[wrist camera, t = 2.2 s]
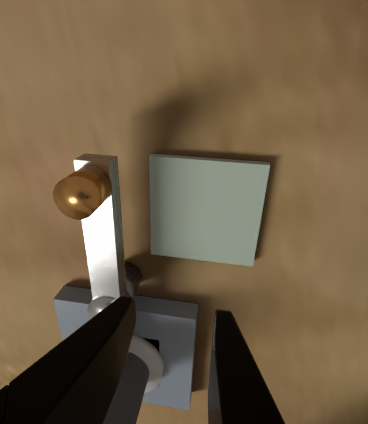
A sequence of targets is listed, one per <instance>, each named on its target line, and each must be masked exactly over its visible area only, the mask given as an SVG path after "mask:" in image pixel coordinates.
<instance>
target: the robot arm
mask: <svg viewBox="0 0 368 424" xmlns="http://www.w3.org/2000/svg"><path fill="white" fill-rule="evenodd" d="M135 324H136V306H135V299H134V298H133V297H128V296H120V297H118V298H117V299H115V300H114V301H113V302H112V303H110V304H109V305H108V306H106V307H105V308H104V309H103V310H101V311H100V312H99V313H98V314H96V315H95V316H94V317H92V318H91V319H90V320H89V321H87V322H86V323H85V324H84V325H82V326H81V327H80V328H78V329H77V330H76V331H75V332H73V333H72V334H71V335H70V336H68V337H67V338H66V339H64V340H63V341H62V342H61V343H59V344H58V345H57V346H55V347H54V348H53V349H52V350H50V351H49V352H48V353H47V354H45V355H44V356H43V357H41V358H40V359H39V360H38V361H36V362H35V363H34V364H33V365H31V366H30V367H29V368H27V369H26V370H25V371H24V372H22V373H21V374H20V375H19V376H17V377H16V378H15V379H13V380H12V381H11V382H10V383H9V385H6V386H4V387H3V388H2V389H0V424H103V422H104V420H105V417H106V415H107V412H108V410H109V407H110V405H111V402H112V399H113V397H114V394H115V392H116V389H117V387H118V384H119V381H120V378H121V375H122V372H123V368H124V365H125V361H126V357H127V354H128V350H129V347H130V343H131V339H132V336H133V332H134V328H135ZM208 424H285V422H284V420H283V418H282V416H281V414H280V412H279V410H278V408H277V406H276V404H275V402H274V399H273V397H272V395H271V393H270V391H269V389H268V387H267V385H266V383H265V381H264V379H263V377H262V375H261V372H260V370H259V368H258V366H257V364H256V362H255V360H254V358H253V356H252V354H251V352H250V350H249V348H248V345H247V343H246V341H245V339H244V337H243V335H242V333H241V331H240V329H239V327H238V325H237V323H236V321H235V318H234V316H233V314H232V313H231V311H229V310H223V309H217V310H216V311H215V320H214V330H213V340H212V351H211V363H210V374H209V386H208Z"/></svg>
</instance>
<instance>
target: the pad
mask: <svg viewBox="0 0 368 424" xmlns="http://www.w3.org/2000/svg"><path fill="white" fill-rule="evenodd" d="M269 169H270V164H269V162H259V161H246V160H233V159H219V158H206V157H193V156H180V155H166V154H153V153H151V154H150V155H149V180H150V231H151V254H152V255H161V256H169V257H177V258H186V259H194V260H203V261H211V262H219V263H228V264H236V265H245V266H253V263H254V257H255V251H256V245H257V240H258V234H259V228H260V222H261V216H262V210H263V204H264V198H265V192H266V187H267V181H268V175H269Z"/></svg>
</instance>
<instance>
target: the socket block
mask: <svg viewBox="0 0 368 424" xmlns="http://www.w3.org/2000/svg"><path fill="white" fill-rule="evenodd" d="M133 298H134V299H135V306H136V324H135V328H134V332H133V334H134V335H136V336H139V337H141V338H148V339H154V340H159V353H160V354H161V356H162V359H163V362H164V370H163V374H162V378H161V381H160V383H159V385H158V386H157V387H156V388H155V389H153V390H152V391H150V392H147V393H144V396H143V399H142V402H145V403H151V404H156V405H162V406H167V407H173V408H178V409H184V410H189V409H190V402H191V394H192V382H193V368H194V354H195V341H196V327H197V313H198V304H195V303H188V302H181V301H173V300H166V299H159V298H152V297H144V296H137V295H134V297H133ZM92 299H93V297H92V290H91V289H86V288H79V287H72V286H63V288H62V289H61V290H60V291H59V293H58V294H57V295H56V296H55V298H54V299H53V300H54V304H55V309H56V314H57V318H58V323H59V328H60V332H61V337H62V341H63V340H64V339H66V338H67V337H68V336H70V335H71V334H72V333H73V332H75V331H76V330H77V329H78V328H80V327H81V326H82V325H84V324H85V323H86V322H87V321H89V320H90V318H89V317H88V314H87V308H88V305H89V304H90V302H91V300H92Z"/></svg>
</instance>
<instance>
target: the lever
mask: <svg viewBox="0 0 368 424" xmlns="http://www.w3.org/2000/svg"><path fill="white" fill-rule="evenodd" d="M74 165H75V172H74V173H72V174H70V175H69V176H67V177H66V178H64V179H63V180H61V181H60V182H58V183H57V184H56V186H55V188H54V191H53V197H54V201H55V204H56V206H57V207H58V209H59V210H60V211H61V212H62V213H63V214H65V215H66V216H68V217H70V218H72V219H77V220H82V224H83V231H84V239H85V246H86V253H87V261H88V268H89V275H90V283H91V290H92V297H93V299H92V300H91V302H90V304H89V305H88V308H87V314H88V317H89V318H90V319H91V318H92V317H94V316H95V315H96V314H98V313H99V312H100V311H101V310H103V309H104V308H105V307H106V306H108V305H109V304H110V303H112V302H113V301H114V300H115V299H117V298H118V297H120V296H128V297H134V295H135V293H136V290H137V288H138V286H139V284H140V281H141V279H142V273H141V271H140V269H139V268H138V267H137V266H135V265H134V264H132V263H128V262H125V260H124V245H123V231H122V216H121V201H120V187H119V172H118V158H117V156H110V155H97V154H83V155H81V156H80V157H78V158H76V159H74ZM128 353H129V350H128ZM127 356H128V354H127ZM126 358H127V357H126Z"/></svg>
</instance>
